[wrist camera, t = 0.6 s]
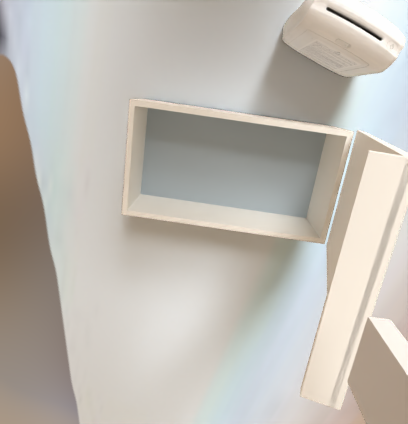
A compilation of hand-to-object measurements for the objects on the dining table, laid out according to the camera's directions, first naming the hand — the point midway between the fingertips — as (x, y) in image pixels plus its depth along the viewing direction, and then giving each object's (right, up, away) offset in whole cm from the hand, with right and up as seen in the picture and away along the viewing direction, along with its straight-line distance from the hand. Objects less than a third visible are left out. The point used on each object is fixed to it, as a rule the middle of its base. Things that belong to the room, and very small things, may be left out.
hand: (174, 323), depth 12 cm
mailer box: (+4, +10, +35) cm, 37 cm away
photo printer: (+15, +24, +30) cm, 42 cm away
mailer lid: (+11, +3, +16) cm, 20 cm away
